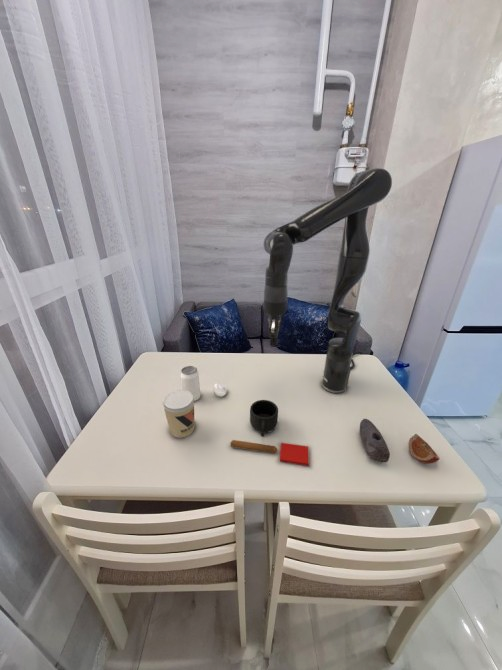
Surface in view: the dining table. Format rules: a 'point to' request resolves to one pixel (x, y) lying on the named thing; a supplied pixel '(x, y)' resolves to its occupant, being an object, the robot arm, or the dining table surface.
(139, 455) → the dining table surface
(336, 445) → the dining table surface
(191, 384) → the can
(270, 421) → the mug
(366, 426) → the perforated stone tool
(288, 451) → the spatula
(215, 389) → the dumpling
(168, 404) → the beige lidded canister
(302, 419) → the dining table surface
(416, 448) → the fruit slice
